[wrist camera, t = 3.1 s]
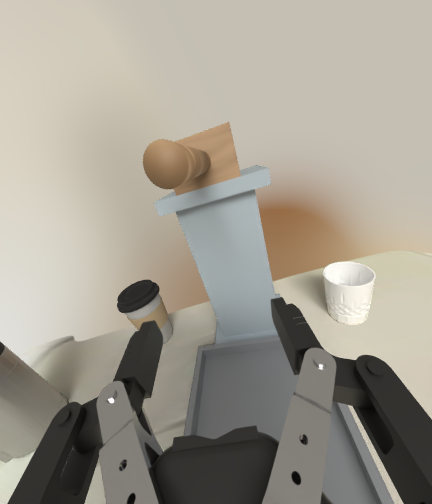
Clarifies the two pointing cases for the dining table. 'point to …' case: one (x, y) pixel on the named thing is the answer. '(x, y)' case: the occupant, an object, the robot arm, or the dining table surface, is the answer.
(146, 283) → the coffee cup
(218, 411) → the tray
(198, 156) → the mallet
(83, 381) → the dining table surface
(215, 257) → the pedestal
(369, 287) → the white cup
